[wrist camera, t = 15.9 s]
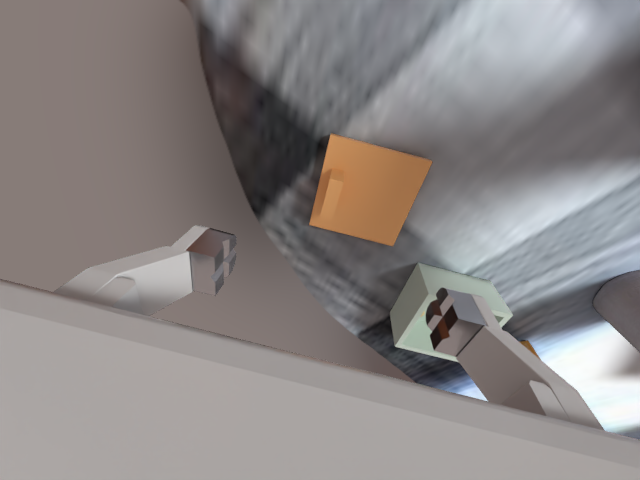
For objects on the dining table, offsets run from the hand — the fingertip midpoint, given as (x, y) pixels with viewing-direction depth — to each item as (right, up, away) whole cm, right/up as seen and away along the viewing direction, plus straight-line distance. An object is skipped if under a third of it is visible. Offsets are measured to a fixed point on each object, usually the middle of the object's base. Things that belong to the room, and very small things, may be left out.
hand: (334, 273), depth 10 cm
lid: (+6, +8, +25) cm, 27 cm away
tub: (+19, -9, +34) cm, 40 cm away
